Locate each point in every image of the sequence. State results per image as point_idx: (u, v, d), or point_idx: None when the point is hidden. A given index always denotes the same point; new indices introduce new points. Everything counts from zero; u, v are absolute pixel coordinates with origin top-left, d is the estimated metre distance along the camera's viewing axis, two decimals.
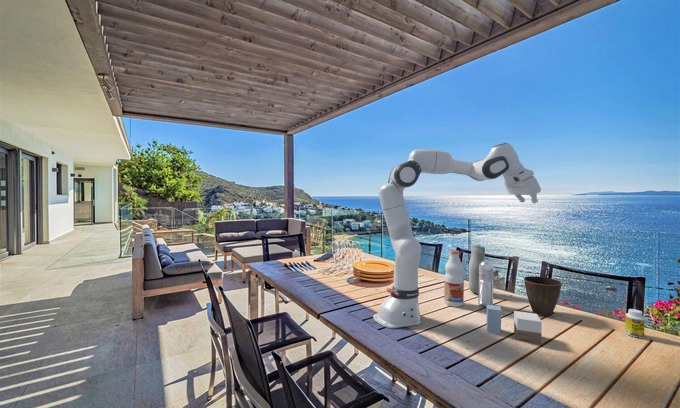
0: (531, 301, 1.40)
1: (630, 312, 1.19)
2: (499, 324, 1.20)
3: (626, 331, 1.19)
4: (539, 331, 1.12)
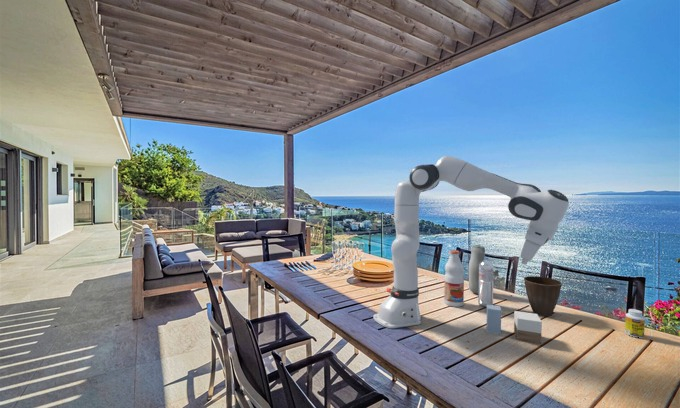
0: (531, 301, 1.40)
1: (630, 312, 1.19)
2: (499, 324, 1.20)
3: (626, 331, 1.19)
4: (539, 331, 1.12)
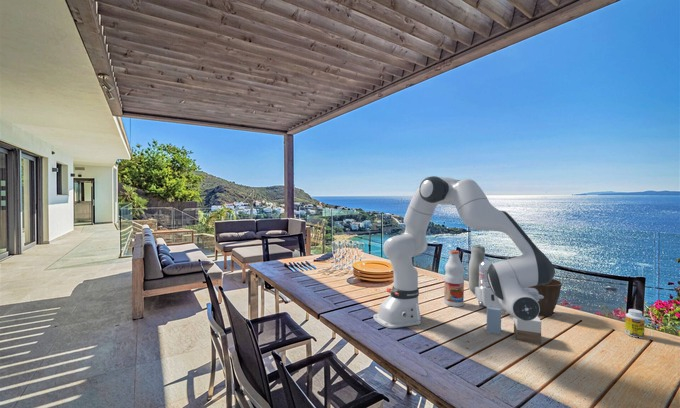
0: None
1: (630, 312, 1.19)
2: (499, 324, 1.20)
3: (626, 331, 1.19)
4: (539, 331, 1.13)
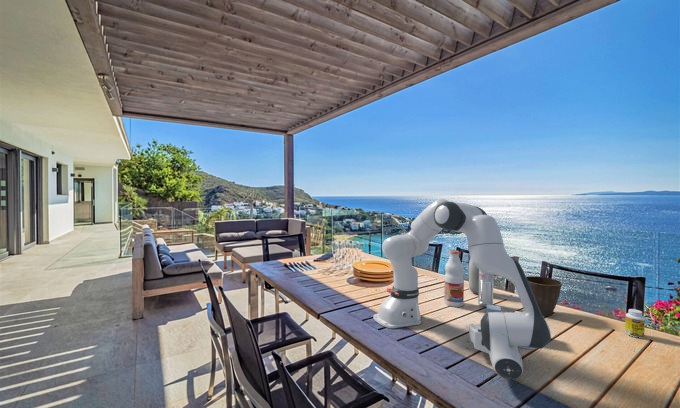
0: None
1: (630, 312, 1.19)
2: None
3: (626, 331, 1.19)
4: None
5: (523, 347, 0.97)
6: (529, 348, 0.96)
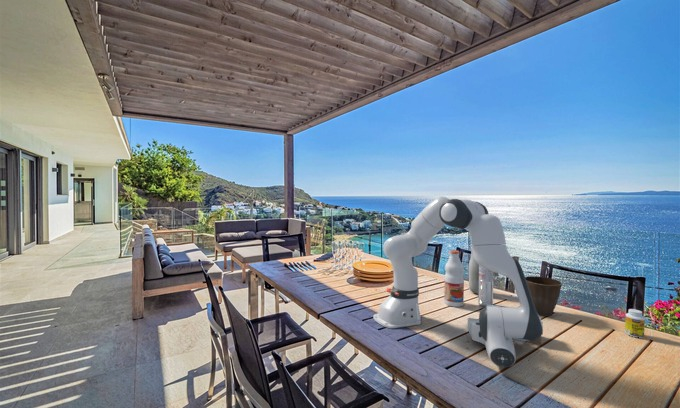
0: None
1: (630, 312, 1.19)
2: None
3: (626, 331, 1.19)
4: None
5: (517, 339, 1.05)
6: (522, 340, 1.05)
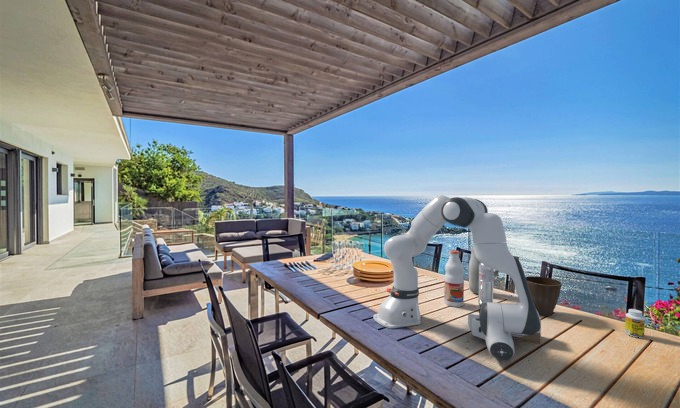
0: None
1: (630, 312, 1.19)
2: None
3: (626, 331, 1.19)
4: (538, 331, 1.12)
5: (515, 334, 1.09)
6: (521, 334, 1.08)
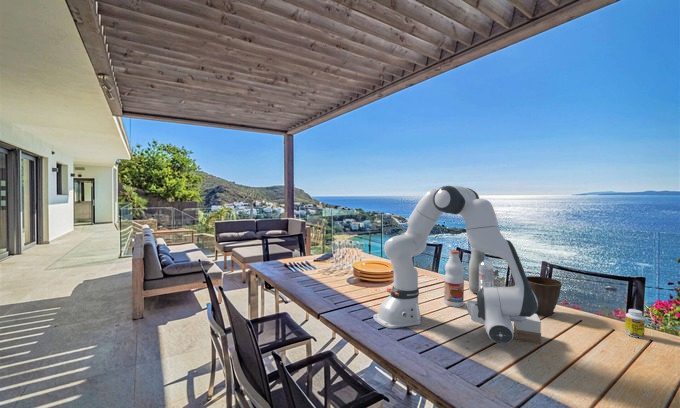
0: None
1: (630, 312, 1.19)
2: None
3: (626, 331, 1.19)
4: (538, 331, 1.12)
5: (515, 319, 1.09)
6: (520, 320, 1.08)
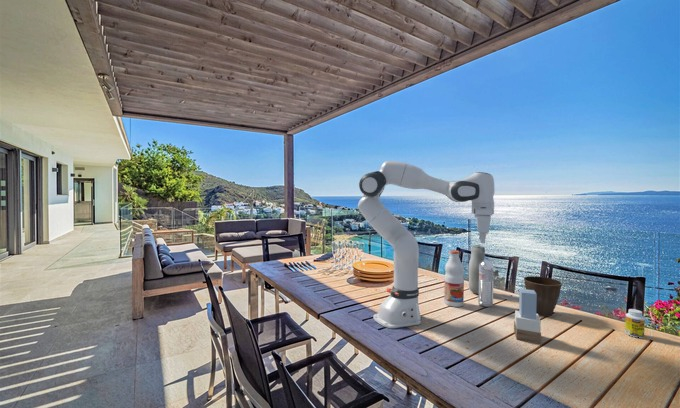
0: None
1: (630, 312, 1.19)
2: (534, 308, 1.14)
3: (626, 331, 1.19)
4: (538, 331, 1.13)
5: None
6: None
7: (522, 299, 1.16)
